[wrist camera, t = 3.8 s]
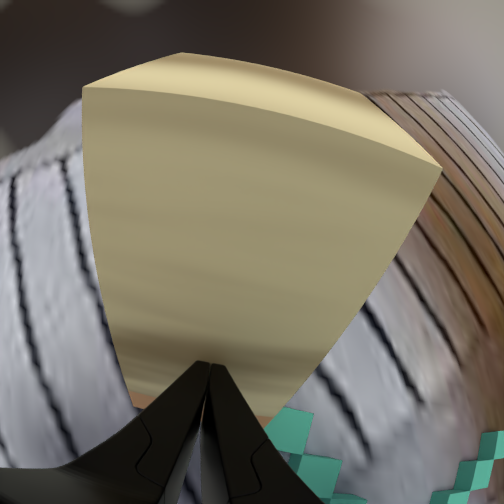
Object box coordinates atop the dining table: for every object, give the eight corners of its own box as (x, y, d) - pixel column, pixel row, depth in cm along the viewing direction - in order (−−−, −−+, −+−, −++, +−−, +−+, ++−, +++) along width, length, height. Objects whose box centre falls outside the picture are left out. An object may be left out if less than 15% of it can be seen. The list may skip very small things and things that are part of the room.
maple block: (262, 430, 13) (442, 168, 4) (133, 406, 12) (82, 87, 4) (267, 329, 17) (359, 92, 9) (161, 308, 17) (181, 52, 8)
